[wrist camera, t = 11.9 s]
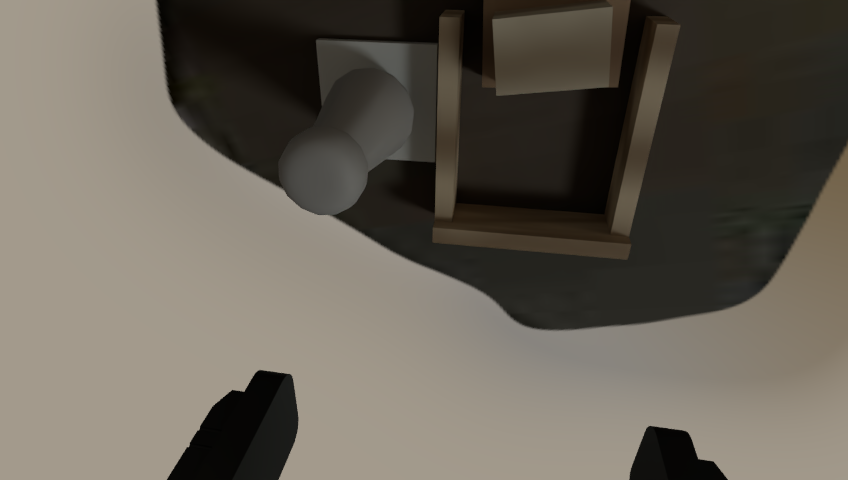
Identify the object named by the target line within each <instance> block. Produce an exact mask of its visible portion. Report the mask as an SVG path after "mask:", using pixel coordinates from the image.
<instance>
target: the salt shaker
mask: <svg viewBox="0 0 848 480" xmlns="http://www.w3.org/2000/svg"><path fill="white" fill-rule="evenodd" d="M413 116H414V108H413V105H412V102H411V100H410V97H409V94H408V91H407V90H406V89H405V88H404V86H403V85H402V84H401V83H400V82H399V81H398V80H397V79H396V78H395V77H394V76H393V75H391V74H388V73H386V72H384V71H381V70H379V69H376V68H363V69H353V70H351V71H350V72H348V73H346V74H345V75H343V76H342V77H340V78H339V79H337V80H336V81H335V82H334V84H333V86H332V88H331V90H330V92H329V93H328V95H327V97H326V99H325V101H324V104H323V106H322V108H321V110H320V113H319V115H318V117H317V119H316V122H315V124H314V126H313V127H309V128H308V129H306V130H305V131H303V132H302V133H300V134H298V135H297V136H295V137H294V138H293V139H291V140H290V141H289V143H288V145H287V147H286V148H285V150H284V152H283V154H282V156H281V158H280V160H279V180H280V182H281V184H282V186H283V188H284V190H285V192H286V194H287V196H288V197H289V198H290V199H292V200H293V201H294V202H295V203H296V204H297V205H298V206H300V207H301V208H302V209H305V210H307V211H310V212H312V213H315V214H317V215H336V214H338V213H340V212H342V211H344V210H346V209H348V208H350V207H351V206H352V205H354V204H355V203H356V201H357V200H358V198H359V197H360V195H361V193H362V192H363V190H364V189H365V186H366V184H367V176H368V172H369V171H370V170H372V169H373V168H374V167H376V166H377V165H378V164H380V163H381V162H382V161H384V160H385V159H386V158H388V157H389V156H391V155H392V154H393V153H395V152H396V151H397V150H399V149H400V148H401V147H402V146H403V144H404V143H405V141H406V139H407V138H408V136H409V135H410V133H411V131H412V124H413Z"/></svg>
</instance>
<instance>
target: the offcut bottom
mask: <svg viewBox="0 0 848 480" xmlns="http://www.w3.org/2000/svg"><path fill="white" fill-rule="evenodd" d="M588 1H598V0H483V62H482V87H496V79H495V60H494V41H493V22H492V19H493V16H494V13H495V12H497V11H506V10H515V9H524V8H533V7H543V6H552V5H561V4H570V3H579V2H588ZM606 1H607V2H608V3H609V4H610V5H612V6H613V15H612V35H611V54H610V73H609V87H618V84H619V77H620V70H621V63H622V56H623V50H624V43H625V36H626V29H627V22H628V15H629V9H630V2H631V0H606Z"/></svg>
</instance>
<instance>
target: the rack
mask: <svg viewBox="0 0 848 480" xmlns="http://www.w3.org/2000/svg"><path fill="white" fill-rule="evenodd" d="M464 16H465V10H445V11H444V12H443V13H442V14H441V16H440V17H439V58H438V103H437V148H436V193H435V222H434V226H433V243H444V244H455V245H467V246H478V247H489V248H501V249H512V250H524V251H535V252H547V253H558V254H569V255H581V256H592V257H604V258H615V259H626V260H628V256H629V252H630V248H631V242H630V239H629V233H630V229H631V225H632V221H633V217H634V213H635V209H636V205H637V201H638V197H639V192H640V188H641V184H642V180H643V176H644V172H645V168H646V164H647V160H648V156H649V152H650V148H651V143H652V139H653V135H654V131H655V127H656V123H657V119H658V115H659V111H660V107H661V103H662V98H663V94H664V90H665V86H666V82H667V78H668V74H669V70H670V66H671V62H672V58H673V54H674V49H675V45H676V41H677V37H678V33H679V29H680V24H678V23H677V22H675V21H674V20H672V19H670V18H669V17H667V16H646V19H645V24H644V29H643V33H642V38H641V43H640V47H639V52H638V57H637V62H636V66H635V71H634V76H633V81H632V85H631V90H630V95H629V100H628V104H627V109H626V114H625V118H624V123H623V128H622V133H621V137H620V142H619V147H618V152H617V156H616V161H615V166H614V171H613V175H612V180H611V185H610V189H609V194H608V199H607V204H606V208H605V213H604V214H593V213H580V212H567V211H554V210H541V209H528V208H515V207H502V206H490V205H477V204H464V203H456V194H457V172H458V149H459V127H460V105H461V83H462V61H463V39H464Z"/></svg>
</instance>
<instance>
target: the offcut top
mask: <svg viewBox="0 0 848 480" xmlns="http://www.w3.org/2000/svg"><path fill="white" fill-rule="evenodd" d="M612 15H613V6H612V5H610V4H609V3H608V2H607V1H606V0H598V1H588V2H579V3H570V4H561V5H552V6H543V7H533V8H524V9H515V10H506V11H497V12H495V13H494V16H493V19H492V22H493V41H494V60H495V79H496V96H500V95H513V94H526V93H539V92H552V91H565V90H578V89H590V88H603V87H609V73H610V54H611V35H612Z"/></svg>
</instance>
